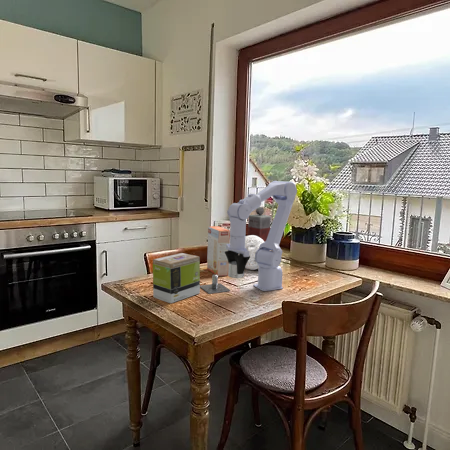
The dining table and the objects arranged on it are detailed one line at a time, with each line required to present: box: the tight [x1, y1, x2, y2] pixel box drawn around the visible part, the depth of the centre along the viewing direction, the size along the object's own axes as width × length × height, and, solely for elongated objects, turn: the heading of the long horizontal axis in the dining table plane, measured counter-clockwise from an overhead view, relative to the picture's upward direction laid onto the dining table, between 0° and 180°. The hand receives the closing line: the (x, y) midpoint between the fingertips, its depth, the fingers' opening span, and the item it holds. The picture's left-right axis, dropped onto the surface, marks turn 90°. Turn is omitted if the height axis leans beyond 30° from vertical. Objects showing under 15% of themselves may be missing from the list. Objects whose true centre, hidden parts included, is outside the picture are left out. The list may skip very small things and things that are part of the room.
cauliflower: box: [245, 235, 264, 271], centre depth 178 cm, size 20×18×16 cm
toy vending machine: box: [247, 206, 272, 242], centre depth 201 cm, size 9×11×28 cm
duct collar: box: [227, 261, 245, 279], centre depth 134 cm, size 6×6×5 cm
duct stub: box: [200, 274, 231, 295], centre depth 143 cm, size 9×9×6 cm
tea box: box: [152, 252, 201, 304], centre depth 133 cm, size 15×10×15 cm, turn 141°
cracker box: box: [206, 225, 230, 277], centre depth 166 cm, size 14×6×21 cm, turn 22°
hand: (236, 271), depth 135 cm, fingers closed on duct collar, 6 cm apart
